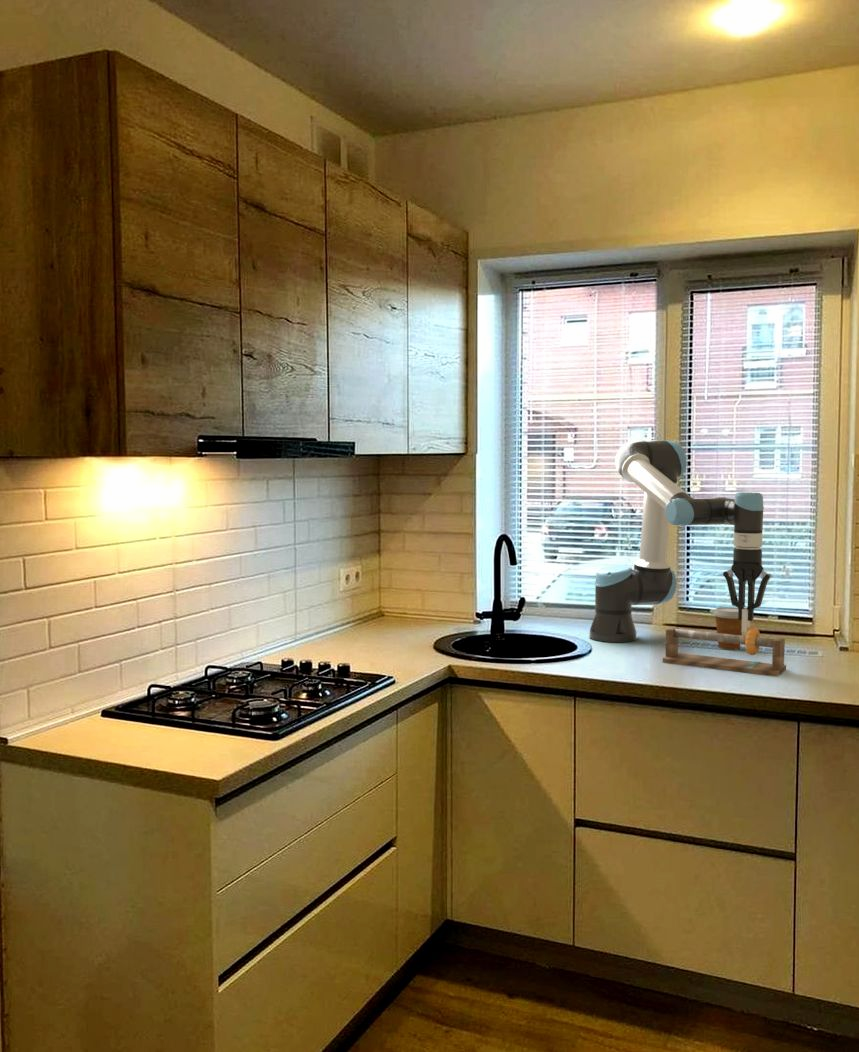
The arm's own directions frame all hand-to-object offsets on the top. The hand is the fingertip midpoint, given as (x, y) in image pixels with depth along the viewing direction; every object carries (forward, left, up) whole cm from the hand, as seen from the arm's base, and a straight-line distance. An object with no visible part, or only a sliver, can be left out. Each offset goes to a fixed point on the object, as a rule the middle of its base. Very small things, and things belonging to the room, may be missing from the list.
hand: (745, 631), depth 263 cm
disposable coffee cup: (-12, +27, -11) cm, 31 cm away
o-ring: (+2, 0, -6) cm, 7 cm away
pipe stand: (-6, 0, -10) cm, 12 cm away
